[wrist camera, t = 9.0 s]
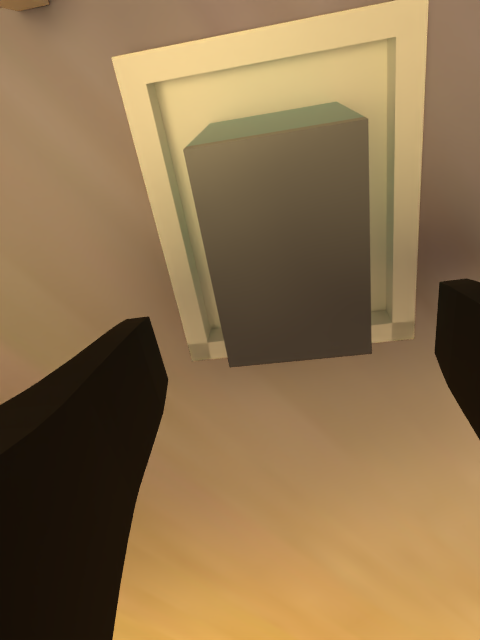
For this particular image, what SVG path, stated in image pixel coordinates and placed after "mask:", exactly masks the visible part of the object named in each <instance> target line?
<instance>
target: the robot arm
mask: <svg viewBox="0 0 480 640" xmlns="http://www.w3.org/2000/svg"><path fill="white" fill-rule="evenodd" d="M435 355H436V358H437V360H438V363H439V366H440V368H441V371H442V373H443V376H444V378H445V380H446V383H447V385H448V387H449V389H450V391H451V392H452V394H453V396H454V397H455V399H456V401H457V403H458V404H459V406H460V408H461V409H462V411H463V413H464V414H465V416H466V418H467V419H468V421H469V423H470V424H471V426H472V428H473V429H474V431H475V433H476V434H477V436H478V438H479V439H480V282H477V281H474V280H470V279H460V280H451V281H443V282H440V284H439V298H438V312H437V326H436V340H435ZM167 385H168V377H167V374H166V370H165V367H164V364H163V361H162V357H161V354H160V351H159V348H158V344H157V341H156V338H155V334H154V331H153V328H152V325H151V321H150V318H149V317H141V318H133V319H126V320H124V321H123V322H121V323H119V324H118V325H116V326H115V327H113V328H112V329H111V330H109V331H108V332H106V333H105V334H104V335H102V336H101V337H100V338H98V339H97V340H96V341H95V342H93V343H92V344H91V345H89V346H88V347H87V348H85V349H84V350H83V351H81V352H80V353H79V354H77V355H76V356H75V357H73V358H72V359H71V360H69V361H68V362H66V363H65V364H63V365H62V366H61V367H59V368H58V369H56V370H55V371H53V372H52V373H51V374H49V375H48V376H46V377H45V378H43V379H42V380H41V381H39V382H38V383H36V384H34V385H33V386H31V387H30V388H28V389H27V390H25V391H23V392H22V393H20V394H19V395H17V396H15V397H13V398H12V399H10V400H8V401H7V402H5V403H3V404H1V405H0V640H112V638H113V631H114V624H115V617H116V610H117V604H118V597H119V590H120V583H121V578H122V572H123V566H124V560H125V555H126V549H127V543H128V538H129V533H130V528H131V523H132V518H133V513H134V508H135V503H136V500H137V496H138V492H139V488H140V485H141V482H142V479H143V475H144V472H145V469H146V466H147V463H148V460H149V456H150V453H151V450H152V447H153V444H154V441H155V438H156V434H157V431H158V428H159V425H160V421H161V418H162V414H163V410H164V405H165V399H166V392H167Z"/></svg>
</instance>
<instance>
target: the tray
mask: <svg viewBox="0 0 480 640" xmlns="http://www.w3.org/2000/svg"><path fill="white" fill-rule="evenodd" d="M428 1H429V0H396V1H391V2H386V3H381V4H376V5H371V6H366V7H361V8H356V9H351V10H346V11H340V12H335V13H330V14H325V15H320V16H315V17H310V18H305V19H300V20H295V21H290V22H285V23H280V24H275V25H270V26H265V27H260V28H255V29H250V30H245V31H240V32H235V33H230V34H225V35H220V36H215V37H210V38H205V39H200V40H195V41H190V42H185V43H180V44H175V45H170V46H165V47H160V48H155V49H150V50H145V51H140V52H135V53H130V54H125V55H120V56H115V57H111V58H112V62H113V65H114V69H115V73H116V77H117V80H118V84H119V88H120V92H121V95H122V99H123V103H124V107H125V111H126V114H127V118H128V122H129V126H130V129H131V133H132V137H133V141H134V144H135V148H136V152H137V156H138V159H139V163H140V167H141V171H142V175H143V178H144V182H145V186H146V190H147V193H148V197H149V201H150V205H151V208H152V212H153V216H154V220H155V224H156V227H157V231H158V235H159V239H160V242H161V246H162V250H163V254H164V257H165V261H166V265H167V269H168V272H169V276H170V280H171V284H172V288H173V291H174V295H175V299H176V303H177V306H178V310H179V314H180V318H181V321H182V325H183V329H184V333H185V336H186V340H187V344H188V348H189V352H190V355H191V359H192V361H199V360H209V359H219V358H228V357H227V352H226V348H225V343H224V338H223V334H222V329H221V324H220V320H219V315H218V310H217V306H216V301H215V296H214V292H213V287H212V282H211V278H210V273H209V268H208V264H207V259H206V254H205V250H204V245H203V241H202V236H201V231H200V227H199V222H198V217H197V213H196V208H195V203H194V199H193V194H192V189H191V185H190V180H189V175H188V171H187V166H186V161H185V157H184V152H183V149H184V148H185V147H186V146H187V145H188V144H189V143H190V142H191V141H192V140H193V139H194V138H195V137H196V136H197V135H198V134H199V133H201V132H202V131H203V130H204V129H205V128H206V127H207V126H208V125H209V124H210V123H215V122H221V121H227V120H233V119H238V118H244V117H250V116H256V115H262V114H267V113H273V112H279V111H285V110H290V109H296V108H302V107H308V106H314V105H319V104H325V103H331V102H338V103H340V104H342V105H344V106H346V107H348V108H349V109H351V110H353V111H355V112H357V113H359V114H360V115H362V116H364V117H366V118H368V134H369V202H370V271H371V340H372V343H379V342H389V341H399V340H409V339H414V328H415V304H416V281H417V258H418V234H419V211H420V188H421V164H422V141H423V118H424V94H425V71H426V48H427V24H428Z"/></svg>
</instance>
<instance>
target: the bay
mask: <svg viewBox="0 0 480 640" xmlns="http://www.w3.org/2000/svg"><path fill="white" fill-rule="evenodd" d="M45 5H49V1H48V0H0V7H1V8H6V9H10V10H15V11H22V10H27V9H31V8H36V7H40V6H45Z"/></svg>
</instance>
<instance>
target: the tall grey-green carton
mask: <svg viewBox="0 0 480 640" xmlns="http://www.w3.org/2000/svg"><path fill="white" fill-rule="evenodd" d="M183 152H184V157H185V161H186V166H187V171H188V175H189V180H190V185H191V189H192V194H193V199H194V203H195V208H196V213H197V217H198V222H199V227H200V231H201V236H202V241H203V245H204V250H205V254H206V259H207V264H208V268H209V273H210V278H211V282H212V287H213V292H214V296H215V301H216V306H217V310H218V315H219V320H220V324H221V329H222V334H223V338H224V343H225V348H226V352H227V357H228V362H229V366H230V367H239V366H250V365H260V364H270V363H281V362H291V361H301V360H312V359H322V358H332V357H342V356H353V355H363V354H372V340H371V271H370V202H369V134H368V118H366V117H364V116H362V115H360V114H359V113H357V112H355V111H353V110H351V109H349V108H348V107H346V106H344V105H342V104H340V103H338V102H331V103H325V104H319V105H314V106H308V107H302V108H296V109H290V110H285V111H279V112H273V113H267V114H262V115H256V116H250V117H244V118H238V119H233V120H227V121H221V122H215V123H210V124H209V125H208V126H207V127H206V128H205V129H204V130H203V131H202V132H201V133H199V134H198V135H197V136H196V137H195V138H194V139H193V140H192V141H191V142H190V143H189V144H188V145H187V146H186V147H185V148H184V149H183Z"/></svg>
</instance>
